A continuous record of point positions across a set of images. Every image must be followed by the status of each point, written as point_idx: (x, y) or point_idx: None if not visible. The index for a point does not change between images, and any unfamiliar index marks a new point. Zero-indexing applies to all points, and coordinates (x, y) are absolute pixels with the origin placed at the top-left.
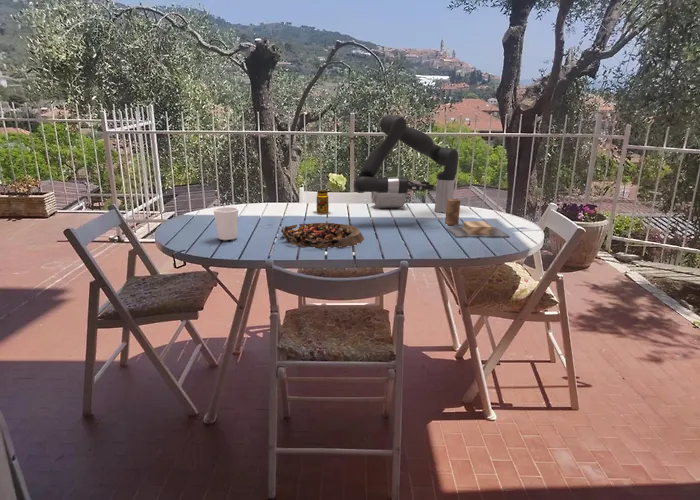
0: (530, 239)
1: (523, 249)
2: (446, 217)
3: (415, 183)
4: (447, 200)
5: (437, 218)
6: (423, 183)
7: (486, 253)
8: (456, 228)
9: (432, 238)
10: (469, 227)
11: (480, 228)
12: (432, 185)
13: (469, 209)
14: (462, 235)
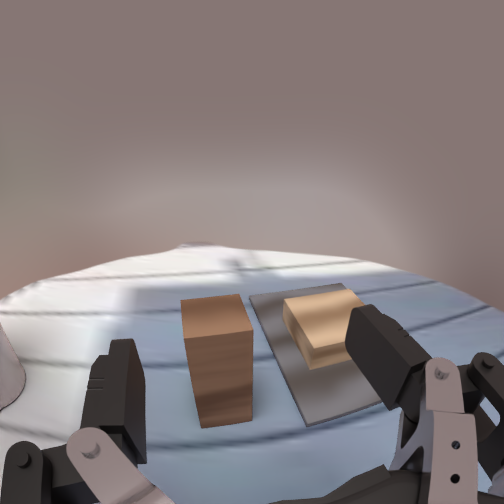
0: (336, 263)
1: (419, 276)
2: (214, 408)
3: (471, 491)
4: (199, 342)
5: None
6: (133, 413)
7: (491, 316)
8: (316, 388)
9: None
10: None
11: None
12: (374, 311)
13: (12, 316)
14: None
